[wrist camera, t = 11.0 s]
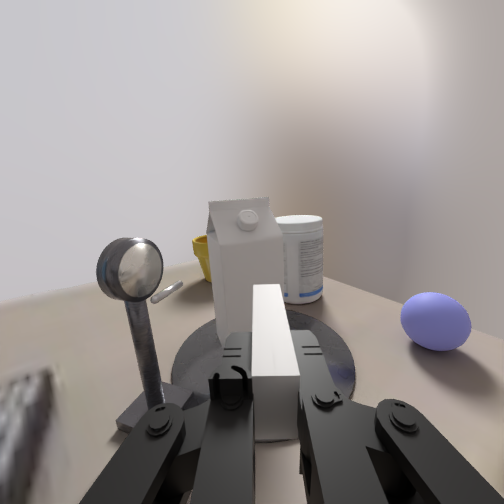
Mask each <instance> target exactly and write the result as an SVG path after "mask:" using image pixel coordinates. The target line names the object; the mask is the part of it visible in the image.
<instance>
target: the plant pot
mask: <svg viewBox="0 0 504 504" xmlns="http://www.w3.org/2000/svg"><path fill="white" fill-rule="evenodd" d="M192 243H193V250H194V254H195V256H197V257H198V259H199V262H200V265H201V268H202V270H203V273H204V276H205V279H206V280H207V281H208V282H211V283H212V280H211V271H210V261H209V252H208V242H207V235H204V236H199V237H197V238H194V239H193V240H192Z"/></svg>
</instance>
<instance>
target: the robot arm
mask: <svg viewBox="0 0 504 504" xmlns="http://www.w3.org/2000/svg"><path fill="white" fill-rule="evenodd" d="M208 382H209V391H210V398H209V399H208V400H207V401H206V402H204V403H203V404H201V405H198V406H196V407H193V408H190V409H187V410H184V411H182V409H181V408H180V406H178V405H176V404H174V403H163V404H159V405H156V406H154V407H153V408H151V409H150V410H148V411H147V412H146V413H145V414H144V415H143V416H142V417H141V418H140V420H139V421H138V422H137V424H136V425H135V426H134V428H133V429H132V431H131V432H130V433H129V435H128V436H127V438H126V439H125V440H124V442H123V443H122V445H121V446H120V447H119V449H118V450H117V451H116V453H115V454H114V456H113V457H112V458H111V460H110V461H109V463H108V464H107V465H106V467H105V468H104V469H103V471H102V472H101V474H100V475H99V476H98V478H97V479H96V481H95V482H94V483H93V485H92V486H91V488H90V489H89V490H88V492H87V493H86V494H85V496H84V497H83V499H82V500H81V501H80V503H79V504H186V503H187V500H188V498H189V495H190V493H191V490H192V489H193V491H192V496H191V502H190V504H255V439H298V434H299V440H300V472H299V474H303V480H304V486H305V492H306V499H307V504H504V498H503V497H502V496H501V495H500V494H499V493H498V492H497V491H496V490H495V489H494V488H493V487H492V486H491V485H490V484H489V483H488V482H487V481H486V480H485V479H484V478H483V477H482V476H481V475H480V474H479V472H478V471H477V470H476V469H475V468H474V467H473V466H472V465H471V464H470V463H469V462H468V461H467V460H466V459H465V458H464V457H463V456H462V455H461V454H460V453H459V452H458V451H457V450H456V449H455V448H454V447H453V446H452V444H451V443H450V442H449V441H448V440H447V439H446V438H445V437H444V436H443V435H442V434H441V433H440V432H439V431H438V430H437V429H436V428H435V427H434V426H433V425H432V424H431V423H430V422H429V421H428V420H427V419H426V417H425V416H424V415H423V414H421V413H420V412H419V411H418V410H417V409H415V408H414V407H413V406H411V405H409V404H407V403H405V402H403V401H399V400H396V399H385V400H383V401H381V402H379V404H378V406H377V408H373V407H370V406H366V405H362V404H359V403H356V402H354V401H351V400H350V399H348V398H346V397H345V396H344V394H343V393H342V391H341V390H339V389H338V388H337V387H336V386H335V385H334V383H333V380H332V377H331V375H330V372H329V369H328V367H327V364H326V361H325V359H324V356H323V355H322V351H321V348H320V346H319V343H318V340H317V338H316V336H315V335H314V334H313V333H312V332H311V331H309V330H290V328H289V324H288V319H287V315H286V310H285V306H284V302H283V297H282V293H281V288H280V284H262V285H253V325H252V332H231V333H230V335H229V336H228V337H227V338H226V340H225V345H224V350H223V357H222V361H221V365H220V366H218V367H217V368H215V369H214V370H213V371H212V372H211V374H210V376H209V378H208Z"/></svg>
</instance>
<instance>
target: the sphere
mask: <svg viewBox="0 0 504 504" xmlns="http://www.w3.org/2000/svg"><path fill="white" fill-rule="evenodd" d="M401 324H402V327H403V328H404V330H405V332H406V334H407V335H408V336H409V337H410V338H411V339H412V340H413V341H414V342H416V343H417V344H419V345H420V346H422V347H425V348H427V349H431V350H436V351H447V350H452V349H455V348H457V347H459V346H461V345H462V344H464V343H465V341H466V340H467V338H468V337H469V335H470V332H471V321H470V318H469V316H468V313H467V312H466V310H465V309H464V308H463V306H462V305H461V304H459V303H458V302H457V301H456V300H454V299H453V298H451V297H449V296H446V295H444V294H440V293H434V292H426V293H421V294H417V295H415V296H413V297H411V298H410V299H409V300H408V301H407V302H406V303H405V304H404V305H403V307H402V311H401Z"/></svg>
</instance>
